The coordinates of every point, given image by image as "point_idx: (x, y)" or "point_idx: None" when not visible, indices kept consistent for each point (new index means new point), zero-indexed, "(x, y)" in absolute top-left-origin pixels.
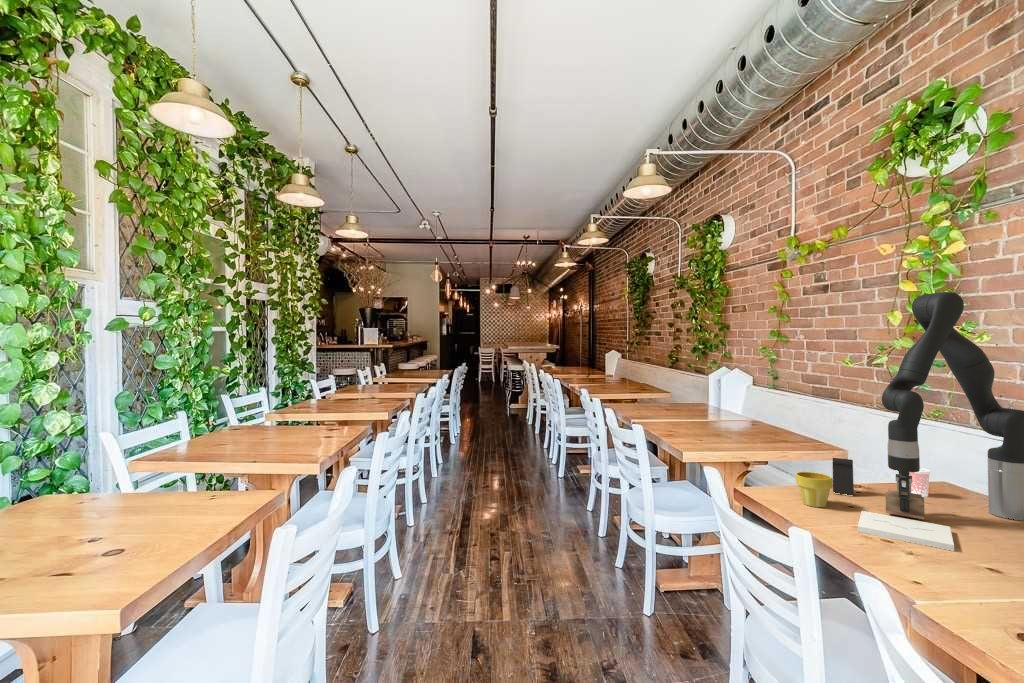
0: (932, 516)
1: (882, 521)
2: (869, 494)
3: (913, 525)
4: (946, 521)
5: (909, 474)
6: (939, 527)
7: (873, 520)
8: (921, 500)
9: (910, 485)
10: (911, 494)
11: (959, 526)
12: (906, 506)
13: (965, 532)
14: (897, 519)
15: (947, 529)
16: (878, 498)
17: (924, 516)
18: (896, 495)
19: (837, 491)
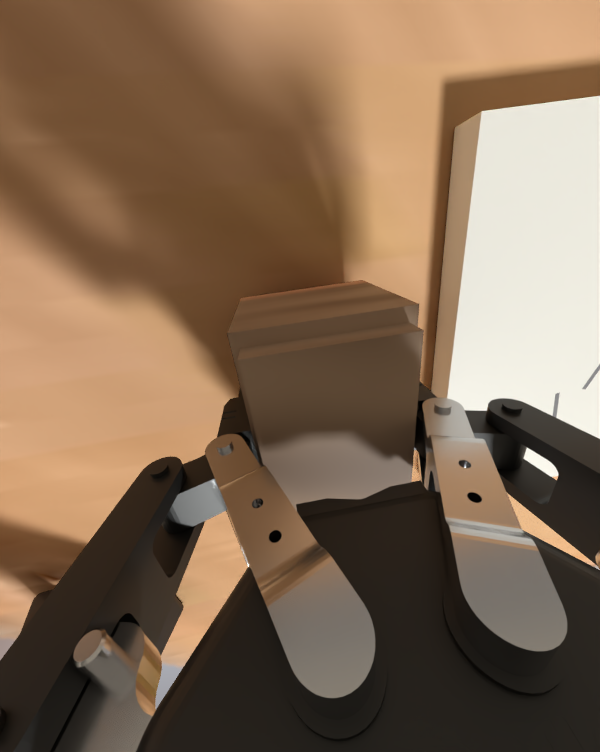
0: (157, 260)
1: (556, 416)
2: (30, 546)
3: (563, 306)
4: (201, 168)
5: (4, 715)
6: (535, 177)
7: None
8: (414, 328)
9: (508, 505)
10: (311, 422)
11: (258, 69)
12: (420, 388)
13: (390, 17)
14: (491, 380)
15: (561, 122)
16: (62, 511)
17: (368, 283)
18: (409, 482)
19: (171, 611)
